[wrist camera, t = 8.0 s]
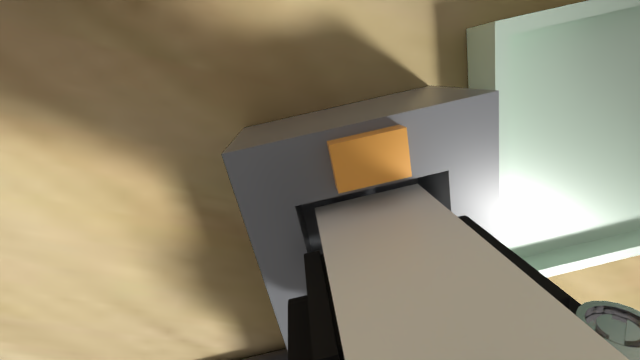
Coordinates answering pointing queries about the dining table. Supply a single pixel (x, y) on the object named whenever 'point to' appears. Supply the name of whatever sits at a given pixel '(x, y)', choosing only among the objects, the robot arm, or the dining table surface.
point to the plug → (438, 288)
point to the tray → (566, 131)
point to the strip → (305, 184)
